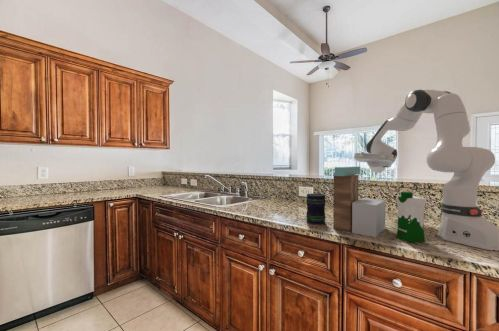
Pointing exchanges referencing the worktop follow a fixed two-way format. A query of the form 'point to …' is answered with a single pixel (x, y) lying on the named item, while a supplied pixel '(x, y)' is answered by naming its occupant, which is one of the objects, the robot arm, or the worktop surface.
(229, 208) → the worktop surface
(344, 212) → the brown tall block
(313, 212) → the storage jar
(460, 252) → the worktop surface
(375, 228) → the grey step
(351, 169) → the teal tile
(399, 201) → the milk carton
